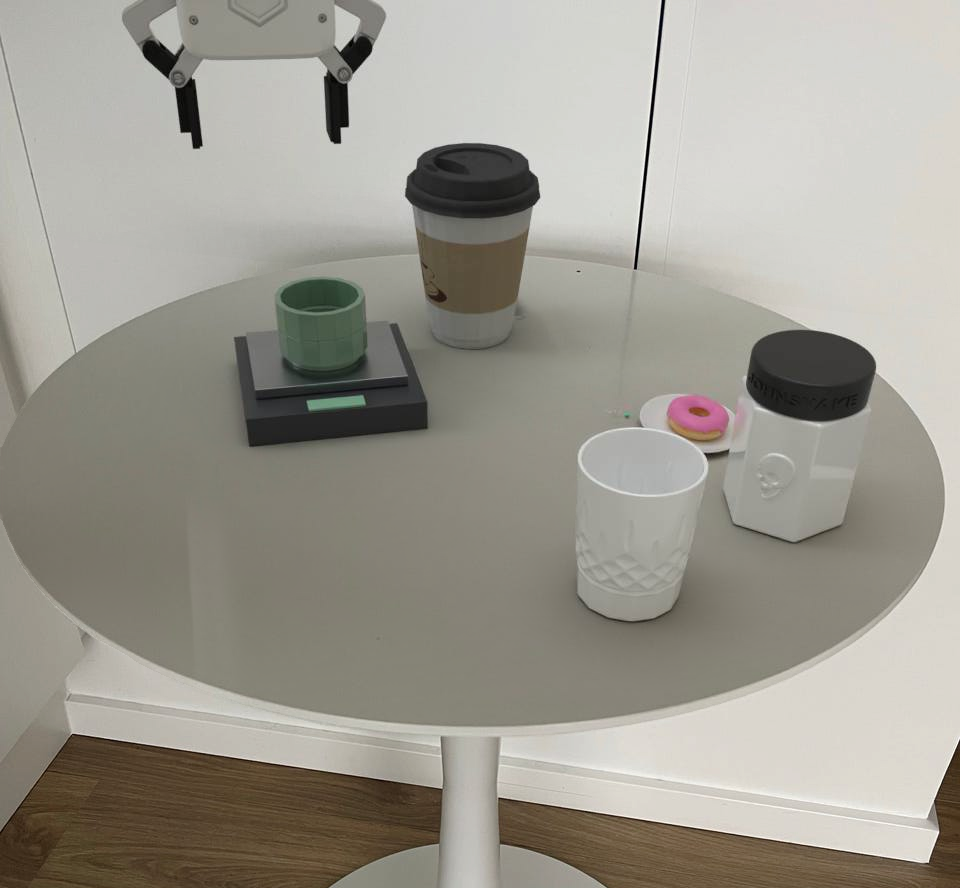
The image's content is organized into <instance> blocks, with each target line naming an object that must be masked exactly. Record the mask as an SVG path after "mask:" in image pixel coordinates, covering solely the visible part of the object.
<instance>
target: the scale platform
mask: <svg viewBox="0 0 960 888" xmlns="http://www.w3.org/2000/svg"><path fill="white" fill-rule="evenodd" d="M366 324H367V344H368V345H367V346H368V347H367V349H366V350H365V352H364V354H363V355H362V356H361V357H360V358H359V359H358V360H357V361H356V362H355V363H354V364H352V365H350V366H348V367H345V368H342V369H338V370H332V371H311V370H306V369H302V368H299V367H296V366H295V365H293V364H291V363H290V362H289V361H288V360H287V359H286V358H285V357H284V356H282V355H281V352H280V348H279V339H278V330H277V329H272V330H261V331H250V332H245V336H246V340H247V346H248V352H249V359H250V365H251V371H252V377H253V384H254V390H255V396H256V399H260V398H271V397H281V396H292V395H303V394H313V393H324V392H334V391H345V390H355V389H366V388H376V387H387V386H397V385H408V374H407V371H406V369H405V366H404V363H403V360H402V358H401V355H400V352H399V350H398V347H397V344H396V342H395V339H394V336H393V333H392V331H391V328H390V325H389V324H390V323H389V320H378V321H368V322H367V321H366Z"/></svg>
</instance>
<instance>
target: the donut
mask: <svg viewBox="0 0 960 888" xmlns="http://www.w3.org/2000/svg"><path fill="white" fill-rule="evenodd" d="M604 413H605V414H606V413H607V410H605V411H604ZM608 414H611V415H613V414H614V415H615V416H616V415H617V410H614V411H610V410H609V411H608ZM620 415H621V411H618V416H620ZM624 416H625V417H626V418H629V416H630V413H629V412H625V414H624ZM735 416H736V413H734V412H733V411H732V410H731V409H729V408H728V407H726V406H724V405H723V404H721V403H719V402H718V401H716V400H714V399H711V398H709V397H706V396H703V395H698V394H686V393H670V394H663V395H658V396H656V397H653V398H650V399H649V400H647V401H646V402H645V403H644V404H643V405H642V406H641V409H640V410H639V421H640V423H641V425H642V428H651V429H658V430H662V431H666V432H670V433H673V434H676V435H678V436H681V437H683V438H685V439H687V440H688V441H690V442H692V443H693V444H695V445H696V446H697V447H698V448H699V449H700V450H701V451H702V452H703V453H704V454H711V453H712V454H713V453H721V452H724V451H728V450H730V445H731V439H732V433H733V428H734V422H735Z"/></svg>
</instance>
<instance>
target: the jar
mask: <svg viewBox="0 0 960 888" xmlns="http://www.w3.org/2000/svg"><path fill="white" fill-rule="evenodd" d="M876 372H877V362H876V360H875V357H874V356H873V355H872V353H871V352H870V350H868V349H867V348H865V347H864V346H862V345H861V344H860V343H858V342H856V341H854V340H852V339H849V338H847V337H845V336H841V335H838V334H835V333H833V332H832V333H831V332H827V331H820V330H811V329H788V330H787V329H786V330H781V331H776V332H773V333H770V334H767V335H765V336H762V337H761V338H760V339H759V340H757V341H756V342H755V343H754V344H753V346H752V349H751V351H750V357H749V363H748V368H747V374H745V375H743V376H742V377H741V382H740V389H739V394H738V400H737V405H736V410H735V415H736V416H735V422H734V428H733V433H732V439H731V445H730V449H728V450H729V451H728V456H727V462H726V468H725V474H724V479H723V485H722V491H723V493H724V497H725V500H726V504H727V507H728V511H729V515H730V517H731V521H732V523H733V525H736V526H739V527H742V528H745V529H749V530H752V531H756V532H759V533H761V534H766V535H768V536H772V537H774V538H778V539H781V540H784V541H787V542H790V543H797V542H800V541H803V540H805V539H807V538H810V537H812V536H815V535H818V534H821V533H823V532H825V531H828V530H831V529H834V528H837V527H839V526H841V525H843V523H844V519H845V515H846V511H847V507H848V504H849V500H850V496H851V492H852V488H853V484H854V480H855V477H856V473H857V469H858V465H859V462H860V457H861V453H862V450H863V446H864V443H865V439H866V435H867V431H868V427H869V424H870V423H869V422H870V419H871V417H872V412H873V410H872V407H871V405H870V403H869V398H870V395H871V391H872V388H873V383H874V380H875V377H876V376H875V375H876Z"/></svg>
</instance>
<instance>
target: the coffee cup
mask: <svg viewBox="0 0 960 888" xmlns="http://www.w3.org/2000/svg"><path fill="white" fill-rule="evenodd" d="M415 167H416V168H415V169H413V170H412V171H411V172H410V173H409V174H408V175H407V177H406V183H405V184H406V185H405V189H404V197H405V199H406V200H407V201H408V202H409V203H410V204H411V208H412V214H413V219H414V220H413V222H414V228H415V234H416V241H417V248H418V255H419V262H420V268H421V275H422V282H423V289H424V296H425V302H426V310H427V317H428V324H429V326H430V327H431V331H432V335H433V336H434V338H435V339H436V340H437V341H438V342H440V343H442V344H443V345H446V346H449V347H452V348H456V349H462V348H463V350H480V349H488V348H492V347H495V346H498V345H500V344H502V343H503V342H505V341H506V340H507V339H508V338H509V336H510V334H511V329H512V327H513V326H514V323H515V317H516V309H517V304H518V299H519V292H520V286H521V280H522V274H523V270H524V269H523V268H524V263H525V256H526V251H527V246H528V245H527V244H528V237H529V232H530V227H531V220H532V215H533V208H534V206H536V204H537V203H538V202H539V200H540V199H541V192H540V183H539V177H538V176H537V175H536V174H534V172H532V171H531V169H530V162H529V159H528V158H527V157H526V156H524V154H522V152H519V151H517V150H515V149H513V148H510V147H507V146H506V147H505V146H503V145H498V144H491V143H483V142H462V143H461V142H460V143H451V144H450V143H449V144H444V145H440V146H436V147H433V148H431V149H428V150H427V151H424V152H423V153H422V154H421V155H420V156H419V157H418V158H417V159H416V166H415Z"/></svg>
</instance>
